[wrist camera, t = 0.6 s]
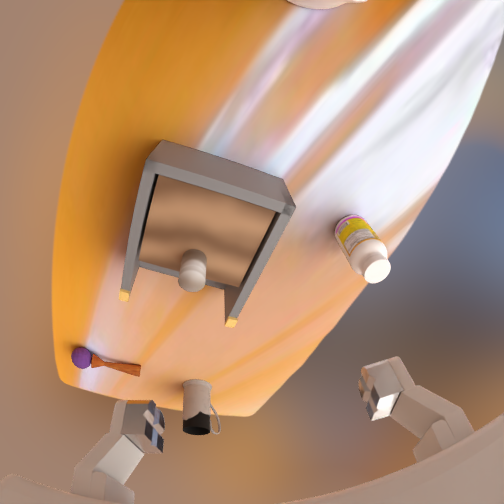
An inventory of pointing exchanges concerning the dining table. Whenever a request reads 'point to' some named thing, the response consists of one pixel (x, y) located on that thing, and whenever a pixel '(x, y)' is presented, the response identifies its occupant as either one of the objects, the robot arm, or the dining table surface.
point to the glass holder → (197, 408)
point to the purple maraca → (100, 362)
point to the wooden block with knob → (202, 233)
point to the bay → (219, 180)
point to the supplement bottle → (362, 248)
